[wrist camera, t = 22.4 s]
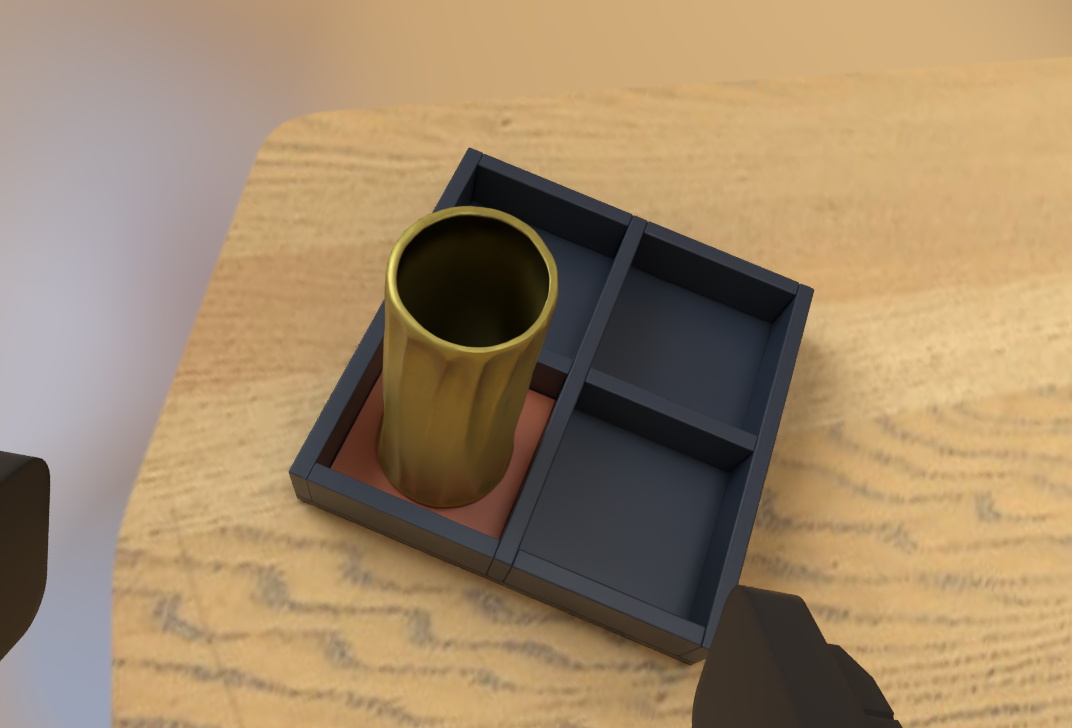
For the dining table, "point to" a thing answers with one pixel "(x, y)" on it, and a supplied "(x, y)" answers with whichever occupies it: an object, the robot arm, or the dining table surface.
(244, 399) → the dining table surface
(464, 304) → the vase
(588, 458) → the grid
